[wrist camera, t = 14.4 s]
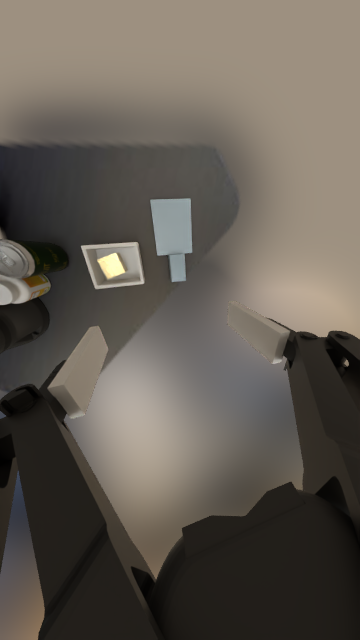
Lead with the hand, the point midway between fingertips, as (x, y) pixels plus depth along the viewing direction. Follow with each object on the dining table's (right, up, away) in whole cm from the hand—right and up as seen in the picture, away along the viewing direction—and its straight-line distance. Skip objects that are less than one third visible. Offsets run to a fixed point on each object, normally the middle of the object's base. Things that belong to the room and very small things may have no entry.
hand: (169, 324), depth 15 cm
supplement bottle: (-31, +9, +18) cm, 37 cm away
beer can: (-26, +14, +17) cm, 34 cm away
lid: (0, +19, +20) cm, 28 cm away
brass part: (-14, +13, +19) cm, 27 cm away
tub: (-13, +14, +19) cm, 27 cm away
